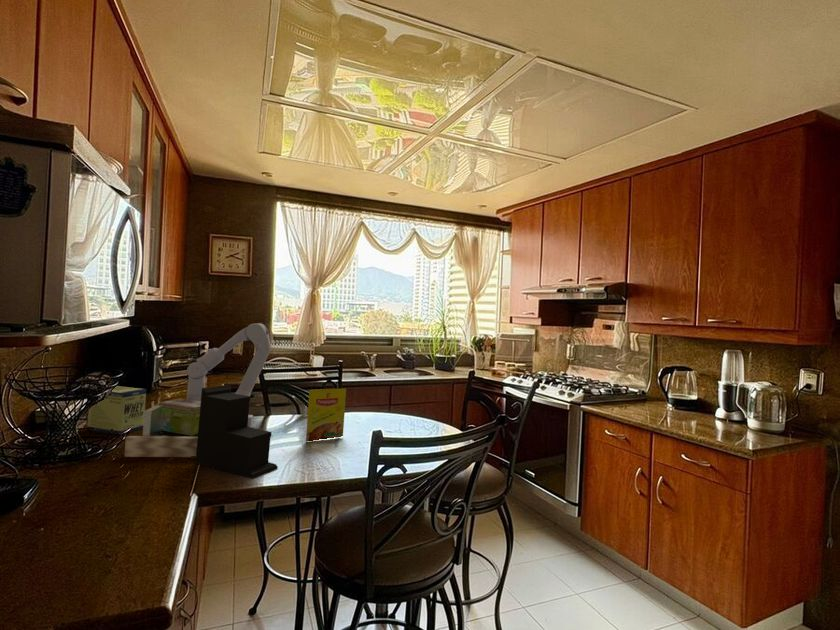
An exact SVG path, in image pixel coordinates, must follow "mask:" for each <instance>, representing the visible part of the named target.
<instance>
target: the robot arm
mask: <svg viewBox="0 0 840 630" xmlns="http://www.w3.org/2000/svg"><path fill="white" fill-rule="evenodd" d="M247 341H251V342H252V343H253V346H254V348H255V350H256V351H255V353H254V355H253V358H252V360H251V361H250V363H249V366H248V367H247V370H246V371H245V374H244V376H243V378H242V381H241V382H240V383H239V387H238V389H237V390H236V391H235V393H234V394H239V395H245V396H250V397H251V394H252V391H253V389H254V386H255V384H256V383H257V380H258V378H259V376H260V375H261V372H262V370H263V368H264V365H265V363H266V362H267V359H268V357H269V355H270V353H271V350H272V345H271V339H270V331H269V330H268V328H267V326H266V325H265V324H263V323H262V322H261V323H260V322H258V323H255V322H254V323H251V324H249V325H247V327H244V328H242V329H241V330H239V331H238V332H236V333H235V334H234V335H233V336H232V337H231V338H229V339H228V340H227V341H226V342H225V343H222V345H221V346H219V348H218V347H213V348H209V349H207V350H206V353H205V354H204V355H202V356H201V357H197V359H196V361H195V362H192V363H190V364H189V365H188V367H187V369H186V374H187V375H188V381H187V391H186V392H187V393H186V394H187V395H186V399H188V400H195V401H201V393H202V388H206V375H207V374H208V373H209V371H211V370H212V369H213V368H215V367H216V366H217V365H219V364H220V363H221V362H223V361H224V360H225V355H226V354H227V353H228V352H230V351H231V350H232V349H234V348H236V347H237V346H238V345H239V344H241V343H242V342H247ZM247 427H251V428H254V415H253V414H249V415H248V426H247Z"/></svg>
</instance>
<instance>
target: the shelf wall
mask: <svg viewBox="0 0 840 630" xmlns="http://www.w3.org/2000/svg"><path fill="white" fill-rule="evenodd" d="M197 439H198V437H181V436H143V435H128V436H126V437H125V443H124V444H125V445H124V457H125V458H129V457H130V458H135V457H136V458H142V457H143V458H192V457H191V456H196V451H197Z"/></svg>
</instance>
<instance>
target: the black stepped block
mask: <svg viewBox="0 0 840 630" xmlns="http://www.w3.org/2000/svg"><path fill="white" fill-rule="evenodd" d="M251 398H252V397H251V395H250V396H245V395H239V394H235V393H234V392H233V393H232V385H231V384H226V385H225V384H224V385H217V386H209V387H208V386H207V387H205V388H202V393H201V405H200V416H199V428H198V439H197V451H196V457H195V464H197V465H198V464H199V465H203V466H204V467H205V466H206V467H208V468H209V467H210V468H212V469H215V470H220V471H223V472H227V473H230V474H234V475H237V476H240V477H241V476H242V477H245V478H249V479H256V478H258V477H260V476H263V475H266V474H267V473H270V472H273V471H276V470H278V465H277V463H273V462H269V460H270V459H269V458H270V457H269V456H270V447H271V446H270V445H271V437H272V431H268V430H264V429H259V428H255V427H253V428H251V427H247V426H248V415H250V414H249V413H250V402H251Z"/></svg>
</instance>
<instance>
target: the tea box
mask: <svg viewBox="0 0 840 630" xmlns="http://www.w3.org/2000/svg"><path fill="white" fill-rule="evenodd" d="M200 405H201V401H195V400H188V399H187V398H181V397H180V398H176V399H171V400H170V399H169V400H166V401H162V402H158V406H162V417H161V430H160V436H181V437H198V428H199V416H200Z"/></svg>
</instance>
